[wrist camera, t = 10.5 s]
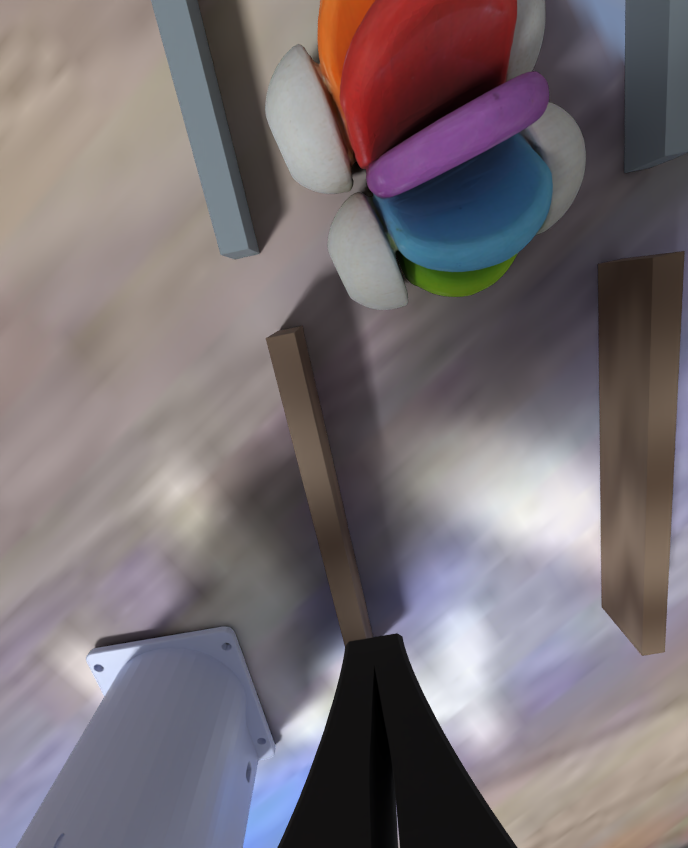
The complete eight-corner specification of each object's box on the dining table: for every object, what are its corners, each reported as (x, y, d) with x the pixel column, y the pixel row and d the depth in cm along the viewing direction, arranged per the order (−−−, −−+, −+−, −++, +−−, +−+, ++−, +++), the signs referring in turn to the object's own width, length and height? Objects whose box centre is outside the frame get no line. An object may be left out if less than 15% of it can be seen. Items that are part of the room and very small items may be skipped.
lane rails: (621, 603, 21) (665, 652, 18) (356, 647, 22) (358, 699, 19) (623, 258, 16) (684, 251, 13) (278, 330, 17) (265, 338, 14)
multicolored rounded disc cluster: (475, -48, 13) (618, -410, 6) (561, 242, 16) (728, 204, 9) (250, 89, 14) (168, -96, 8) (366, 338, 17) (383, 369, 10)
